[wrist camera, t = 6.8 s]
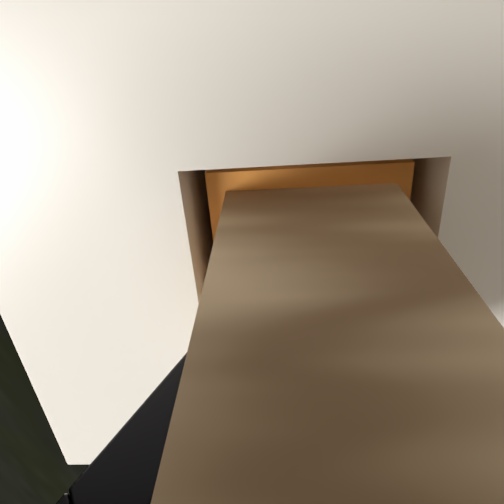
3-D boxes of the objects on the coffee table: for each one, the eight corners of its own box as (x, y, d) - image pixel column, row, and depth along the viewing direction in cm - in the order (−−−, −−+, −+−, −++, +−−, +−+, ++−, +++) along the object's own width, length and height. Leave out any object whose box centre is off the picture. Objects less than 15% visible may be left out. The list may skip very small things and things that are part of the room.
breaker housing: (620, -83, 11) (864, -146, 6) (498, 347, 17) (573, 459, 13) (-1, -29, 12) (-163, -51, 7) (115, 357, 18) (67, 464, 14)
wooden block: (397, 182, 10) (868, 826, 2) (382, 319, 12) (599, 913, 4) (225, 191, 10) (82, 790, 2) (239, 323, 12) (184, 890, 4)
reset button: (383, 129, 12) (415, 162, 10) (372, 271, 15) (394, 327, 12) (217, 139, 13) (204, 173, 10) (232, 276, 15) (224, 332, 12)
